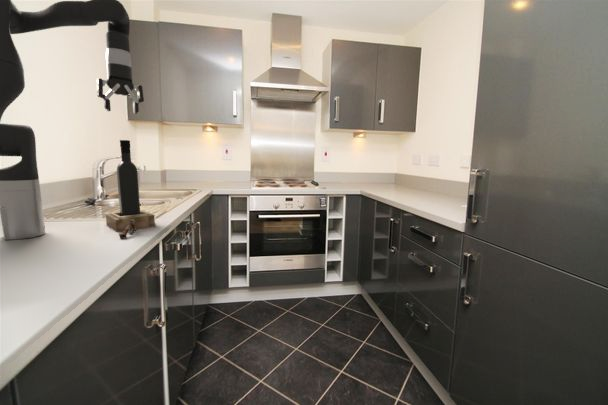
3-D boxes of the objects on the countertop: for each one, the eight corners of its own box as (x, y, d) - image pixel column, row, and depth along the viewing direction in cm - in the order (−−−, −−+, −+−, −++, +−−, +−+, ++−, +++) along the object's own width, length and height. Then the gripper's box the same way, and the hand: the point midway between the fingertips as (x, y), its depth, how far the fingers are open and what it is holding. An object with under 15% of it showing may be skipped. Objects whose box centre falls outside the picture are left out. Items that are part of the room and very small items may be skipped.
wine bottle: (120, 225, 104) (113, 140, 99) (138, 223, 108) (132, 140, 103) (123, 228, 100) (116, 139, 95) (141, 226, 104) (136, 140, 99)
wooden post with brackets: (139, 228, 97) (135, 218, 95) (128, 245, 90) (124, 233, 88) (133, 228, 97) (130, 218, 94) (122, 245, 90) (118, 233, 88)
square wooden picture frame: (116, 231, 96) (115, 218, 95) (106, 225, 104) (105, 212, 103) (154, 226, 104) (154, 213, 104) (143, 220, 112) (142, 208, 112)
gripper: (137, 70, 111) (140, 114, 114) (92, 61, 101) (96, 110, 104) (144, 68, 106) (146, 114, 109) (97, 58, 96) (101, 109, 99)
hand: (122, 112), depth 107 cm, fingers open, 8 cm apart
